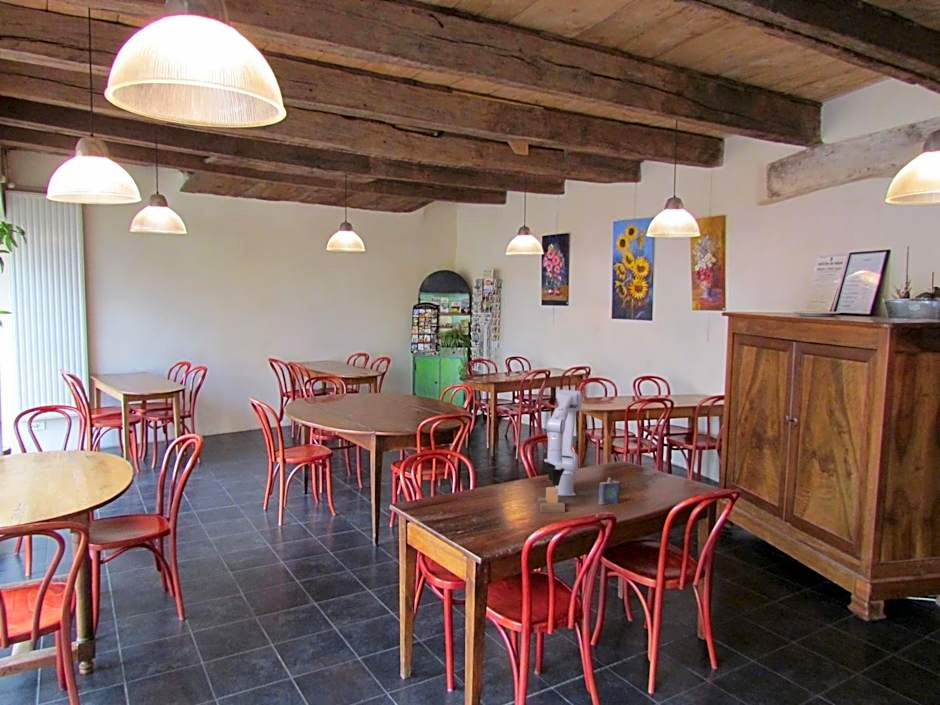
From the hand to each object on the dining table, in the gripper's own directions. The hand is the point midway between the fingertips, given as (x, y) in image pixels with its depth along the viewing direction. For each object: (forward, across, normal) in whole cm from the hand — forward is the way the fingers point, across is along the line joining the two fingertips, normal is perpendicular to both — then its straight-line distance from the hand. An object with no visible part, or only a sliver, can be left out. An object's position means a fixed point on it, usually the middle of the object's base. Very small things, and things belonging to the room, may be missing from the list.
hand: (553, 482), depth 253 cm
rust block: (+7, 0, -1) cm, 7 cm away
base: (+10, 0, -1) cm, 10 cm away
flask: (+11, -6, +24) cm, 27 cm away
